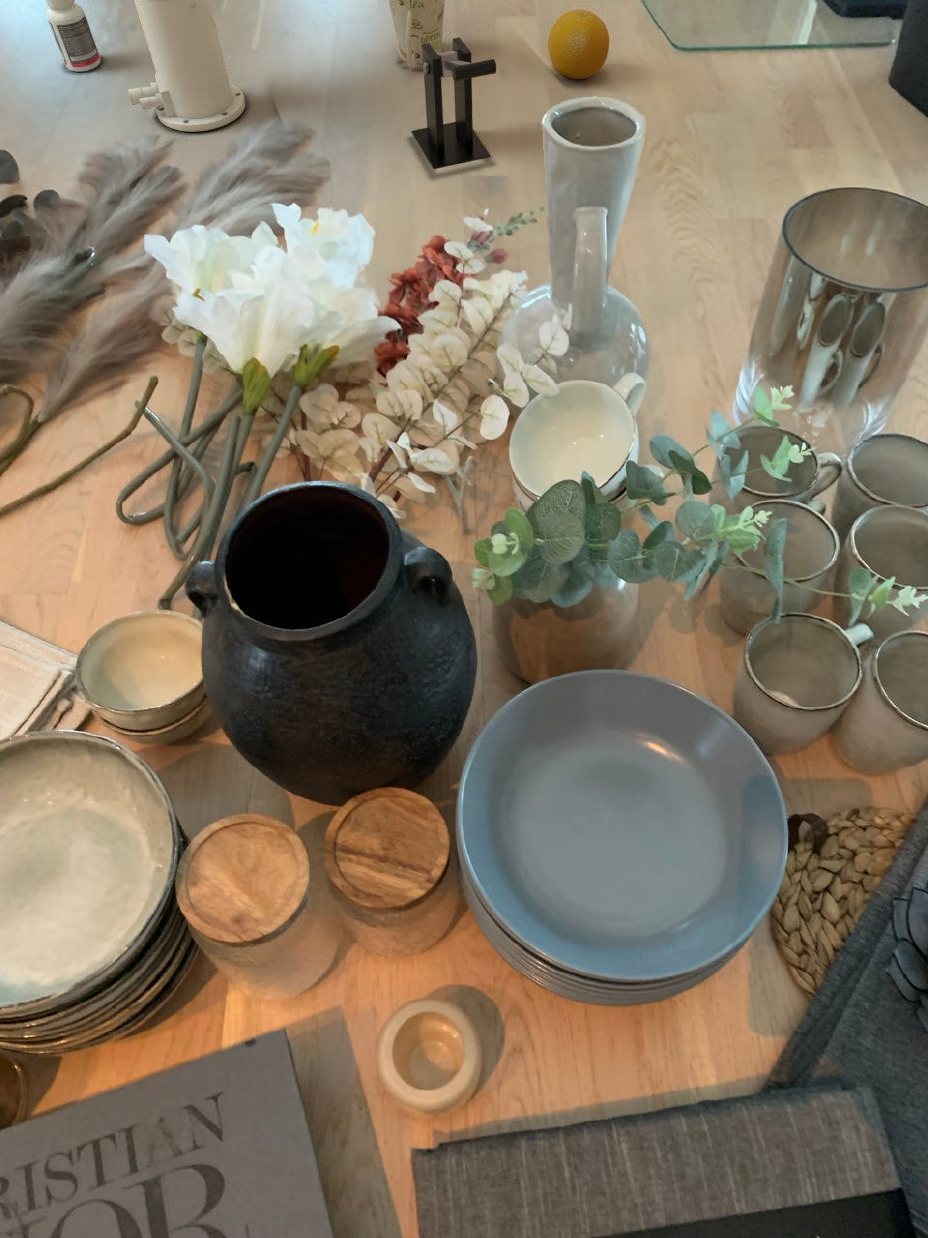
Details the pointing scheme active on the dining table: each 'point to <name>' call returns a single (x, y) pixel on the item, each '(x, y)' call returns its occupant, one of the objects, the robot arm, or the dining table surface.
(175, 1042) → the dining table surface
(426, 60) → the black lever stand
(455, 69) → the lever
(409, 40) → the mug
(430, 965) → the dining table surface
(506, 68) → the dining table surface
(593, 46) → the fruit
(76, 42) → the pill bottle
